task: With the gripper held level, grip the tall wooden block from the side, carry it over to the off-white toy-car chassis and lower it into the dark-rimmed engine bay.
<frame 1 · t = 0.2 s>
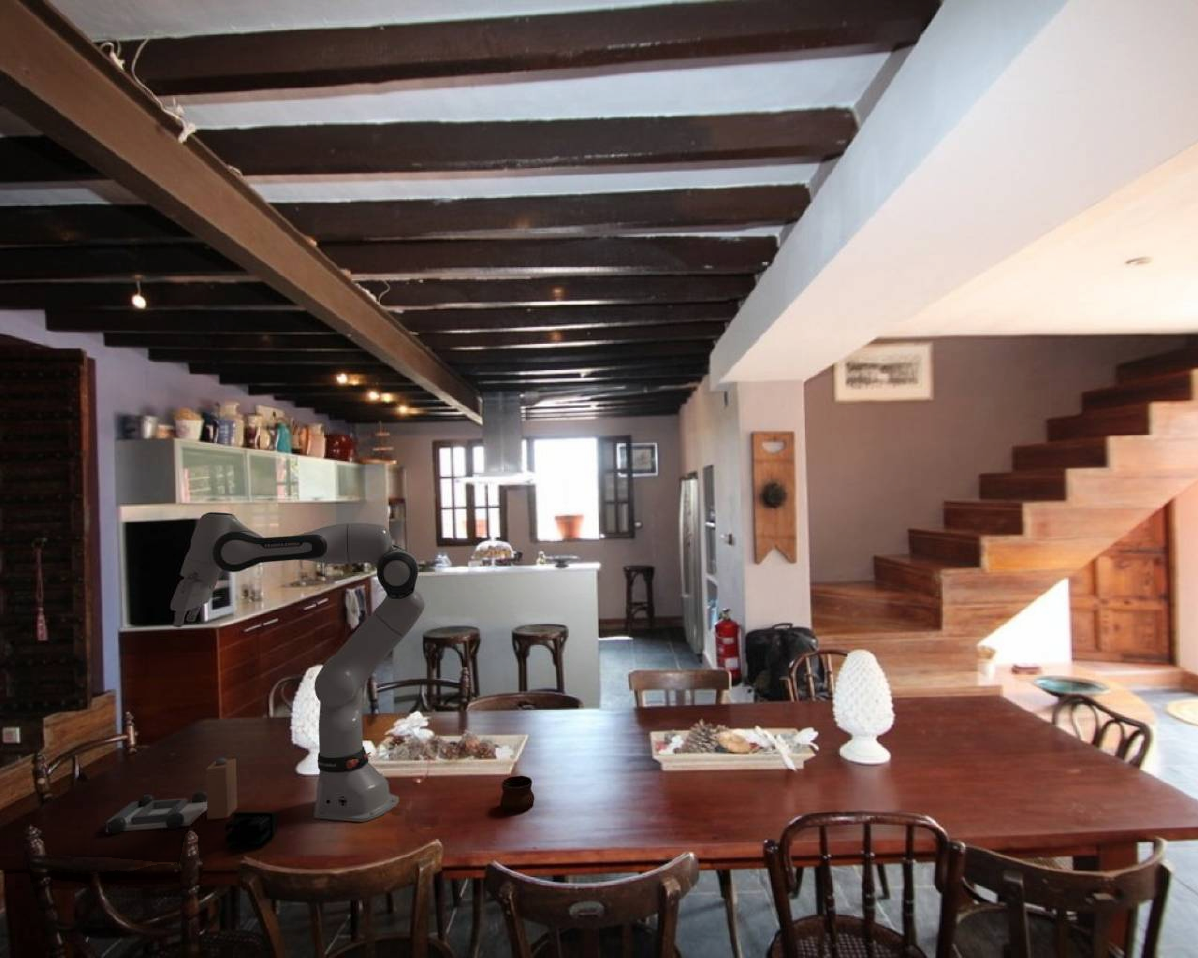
hand: (183, 623, 180), 51 cm above the table, tool tilted 20°, fingers open, 8 cm apart
end cap: (252, 842, 168), on the table
chassis: (160, 818, 183), on the table
tall wooden block: (222, 813, 185), on the table
ceramic pot: (517, 808, 182), on the table
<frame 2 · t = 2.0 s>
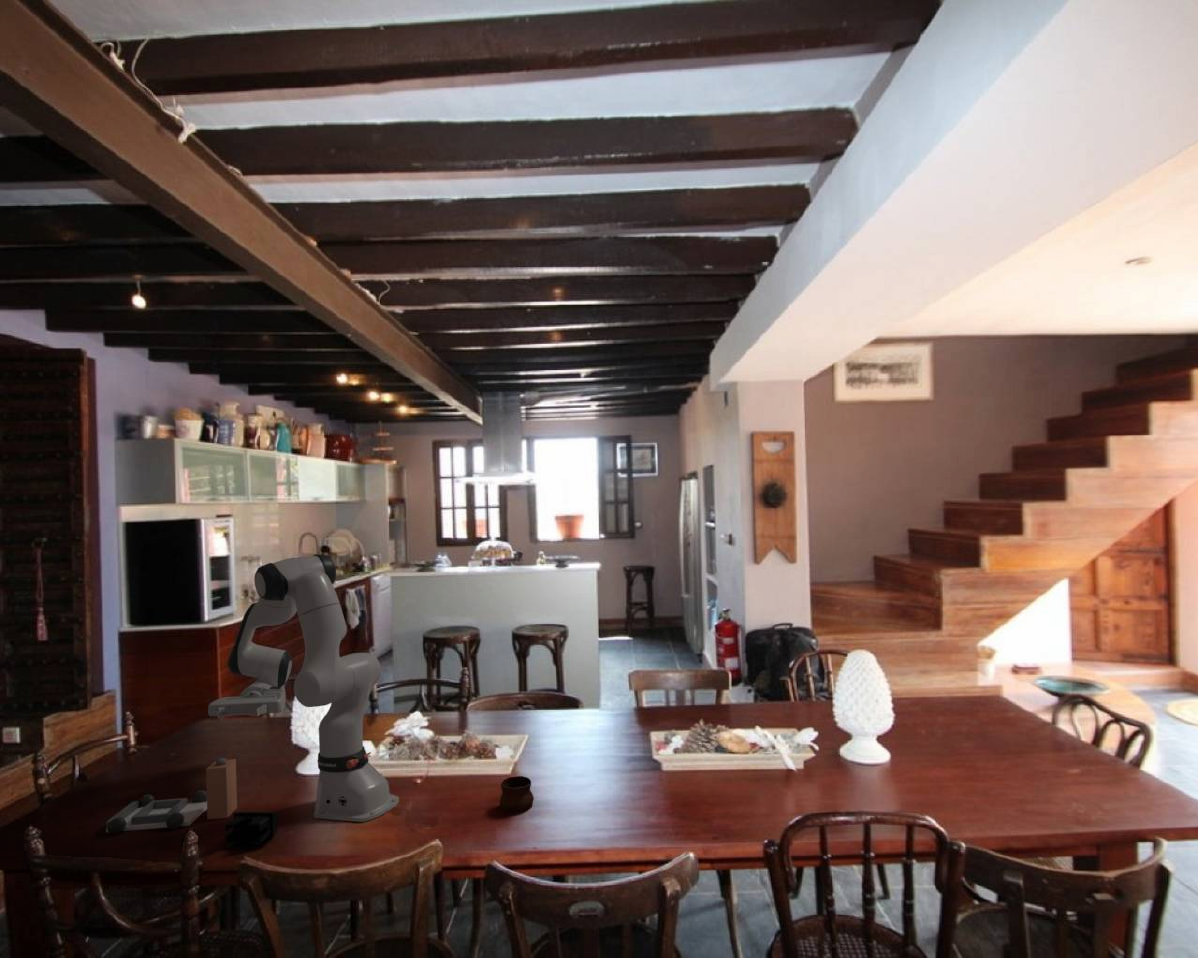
hand: (237, 714, 197), 23 cm above the table, tool horizontal, fingers open, 8 cm apart
nothing on the table moved.
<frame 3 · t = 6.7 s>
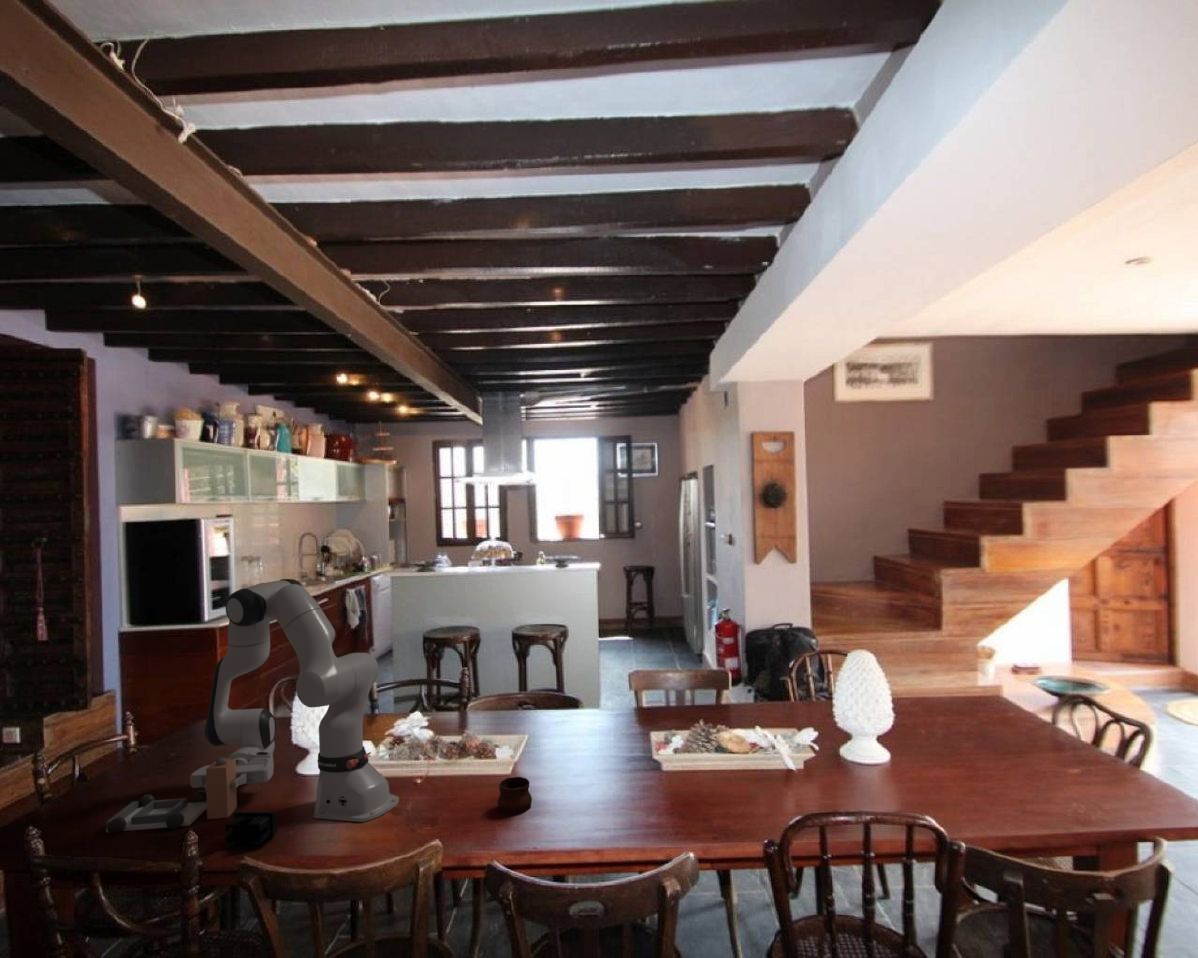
hand: (220, 785, 184), 8 cm above the table, tool horizontal, fingers closed on tall wooden block, 5 cm apart
tall wooden block: (222, 813, 185), on the table, touching gripper
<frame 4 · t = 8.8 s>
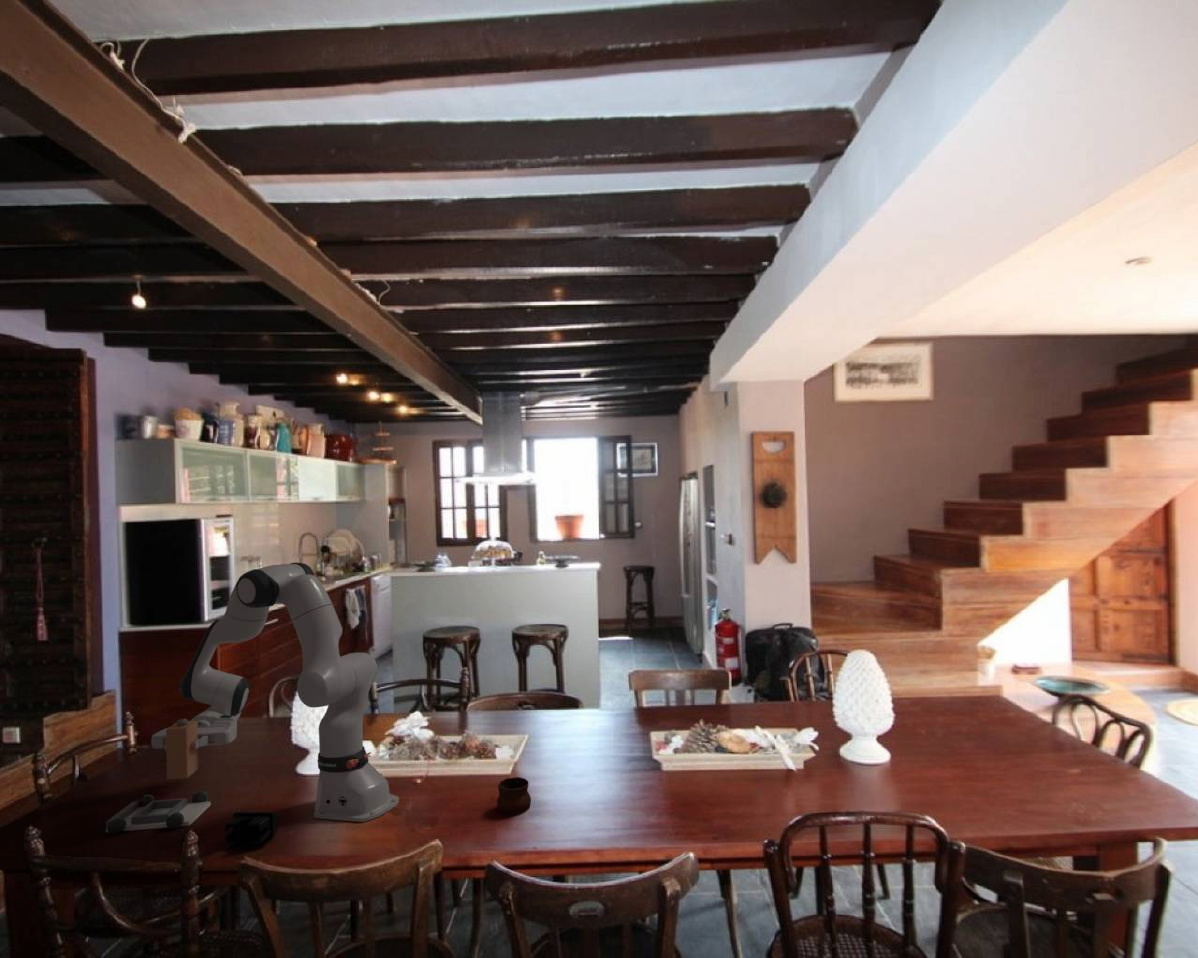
hand: (180, 746, 183), 18 cm above the table, tool horizontal, fingers closed on tall wooden block, 5 cm apart
tall wooden block: (182, 773, 184), point 11 cm above the table, touching gripper
when the fingers open (9 cm above the table, at t = 11.3 s): tall wooden block stays where it is, resting on chassis.
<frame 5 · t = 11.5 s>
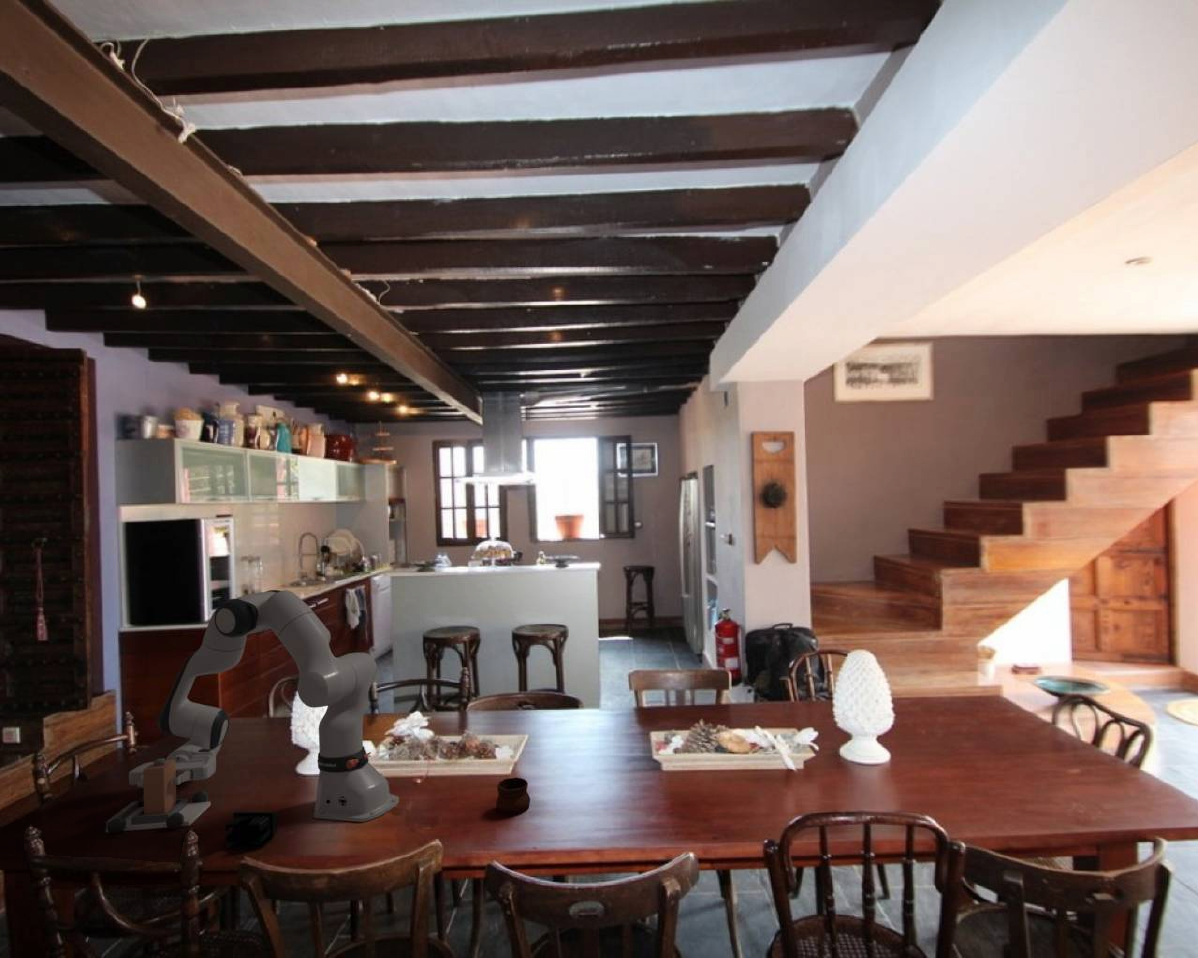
hand: (157, 783, 182), 9 cm above the table, tool horizontal, fingers open, 7 cm apart
tall wooden block: (160, 814, 183), point 1 cm above the table, touching chassis
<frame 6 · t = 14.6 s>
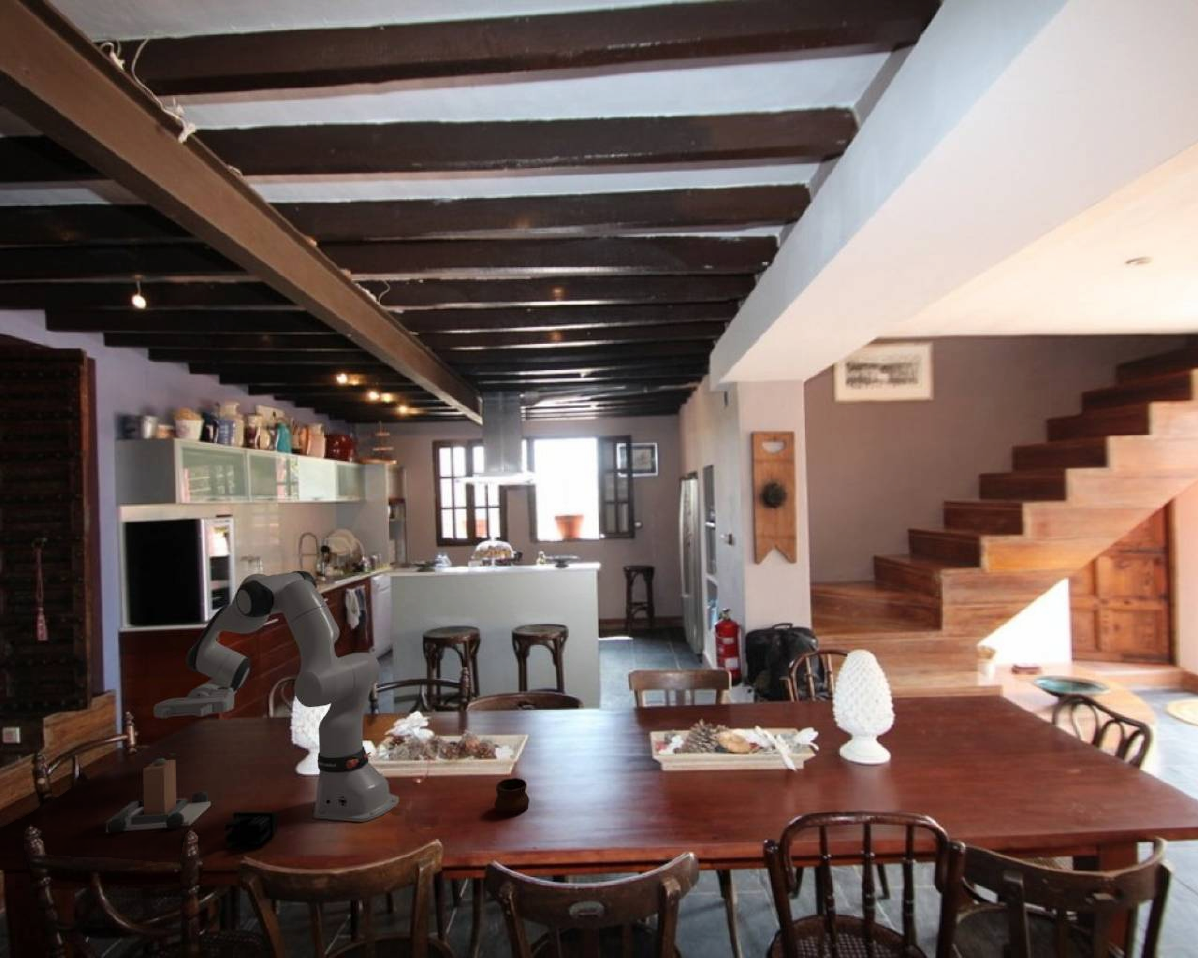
hand: (181, 714, 196), 24 cm above the table, tool horizontal, fingers open, 8 cm apart
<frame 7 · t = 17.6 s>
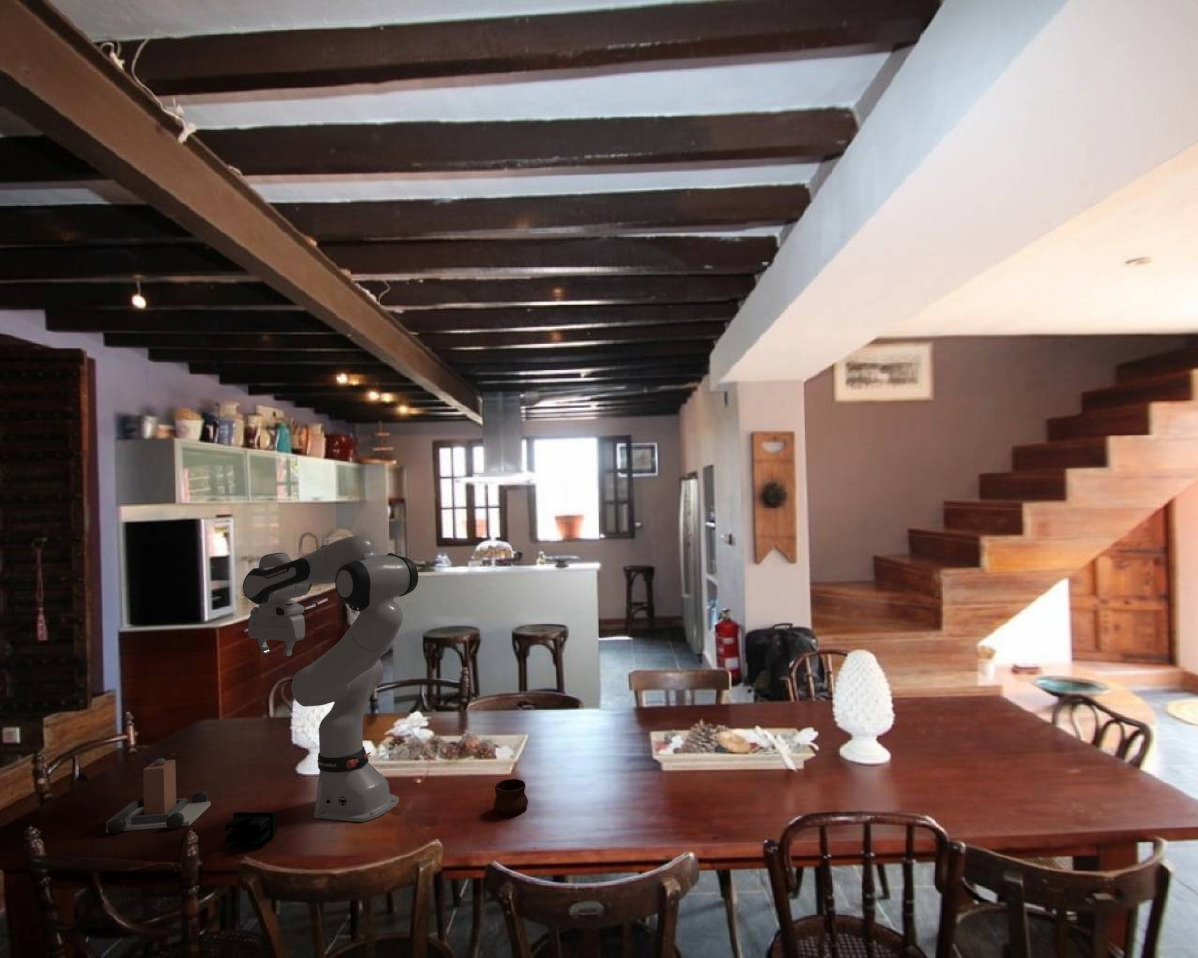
hand: (276, 654, 206), 37 cm above the table, tool pointing down, fingers open, 8 cm apart
at the end: tall wooden block 0.1 cm off-centre on the chassis, point 1.0 cm above the chassis's base; tall wooden block tilted 0°; the gripper is holding nothing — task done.
